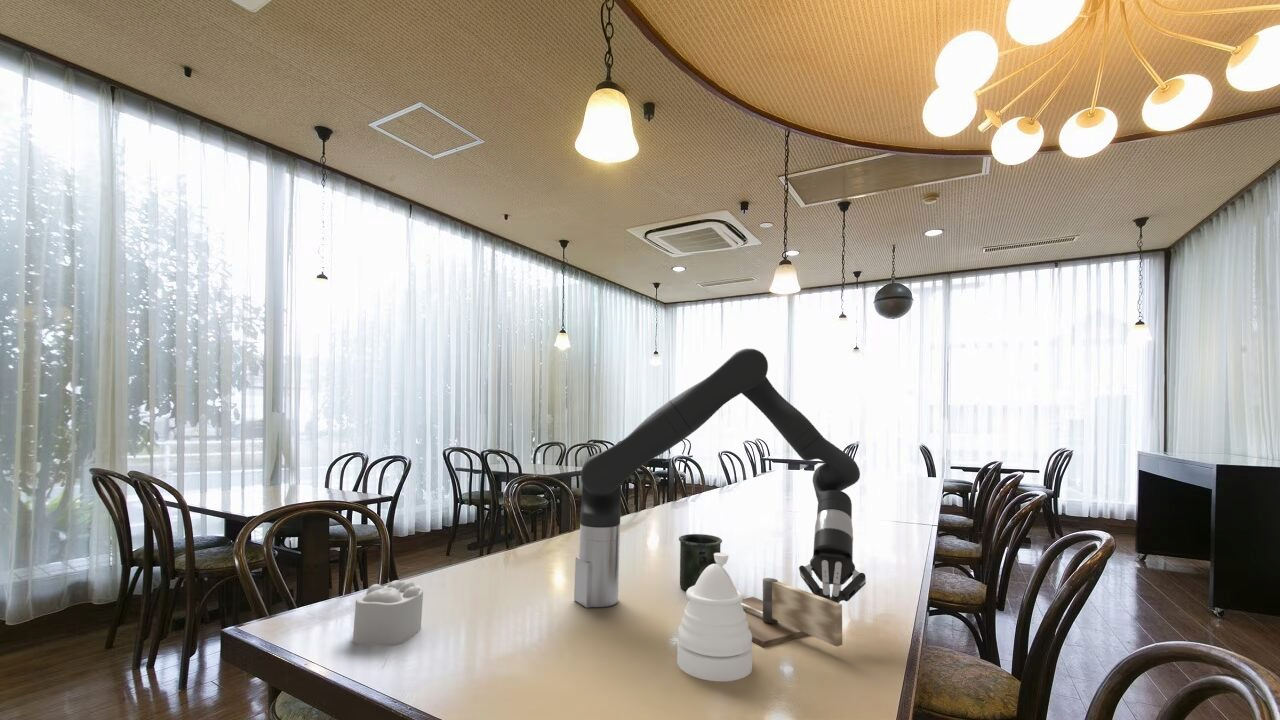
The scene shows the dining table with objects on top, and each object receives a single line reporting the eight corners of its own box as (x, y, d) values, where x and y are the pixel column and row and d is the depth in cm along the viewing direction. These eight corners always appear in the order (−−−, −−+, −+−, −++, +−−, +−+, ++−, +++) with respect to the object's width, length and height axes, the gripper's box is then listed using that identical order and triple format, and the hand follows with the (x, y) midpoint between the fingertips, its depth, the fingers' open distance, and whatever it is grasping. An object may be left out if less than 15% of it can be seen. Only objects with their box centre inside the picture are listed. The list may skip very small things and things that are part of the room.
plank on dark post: (729, 605, 121) (729, 567, 122) (739, 603, 123) (739, 566, 124) (834, 653, 98) (833, 606, 99) (845, 649, 99) (844, 603, 100)
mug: (718, 582, 143) (719, 534, 144) (726, 600, 129) (727, 547, 130) (676, 580, 143) (677, 533, 145) (680, 599, 129) (680, 546, 130)
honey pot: (702, 642, 105) (704, 544, 106) (765, 662, 96) (765, 556, 98) (662, 664, 95) (664, 556, 96) (728, 689, 87) (729, 570, 88)
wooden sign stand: (763, 647, 103) (763, 640, 103) (695, 613, 119) (696, 608, 120) (823, 630, 112) (823, 624, 112) (753, 601, 129) (753, 596, 129)
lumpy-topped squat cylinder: (344, 643, 100) (348, 594, 101) (384, 617, 113) (387, 574, 114) (398, 647, 99) (401, 597, 100) (433, 621, 112) (435, 576, 113)
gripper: (798, 523, 115) (791, 602, 103) (867, 530, 110) (868, 614, 98) (802, 544, 120) (795, 622, 107) (868, 551, 115) (869, 634, 102)
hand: (830, 618), depth 103 cm, fingers closed
